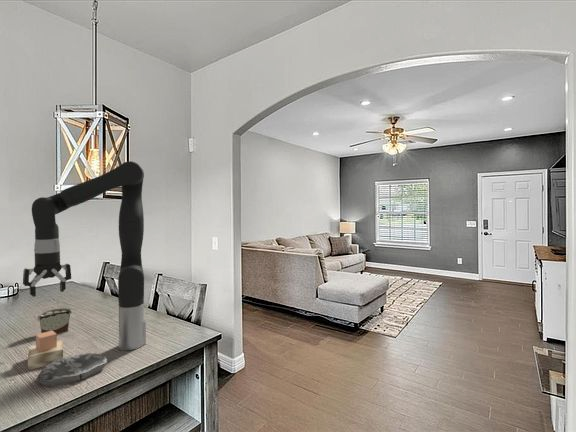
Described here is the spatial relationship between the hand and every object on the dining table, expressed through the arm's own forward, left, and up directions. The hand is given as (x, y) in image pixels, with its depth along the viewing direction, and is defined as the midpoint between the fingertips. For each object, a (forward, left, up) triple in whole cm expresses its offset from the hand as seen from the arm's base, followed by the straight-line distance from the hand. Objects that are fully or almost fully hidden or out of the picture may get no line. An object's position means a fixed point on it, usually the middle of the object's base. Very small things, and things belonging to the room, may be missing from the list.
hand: (48, 293), depth 117 cm
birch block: (+1, +2, -25) cm, 25 cm away
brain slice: (-3, +19, -25) cm, 31 cm away
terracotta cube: (+1, +2, -20) cm, 20 cm away
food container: (-7, -25, -24) cm, 36 cm away
